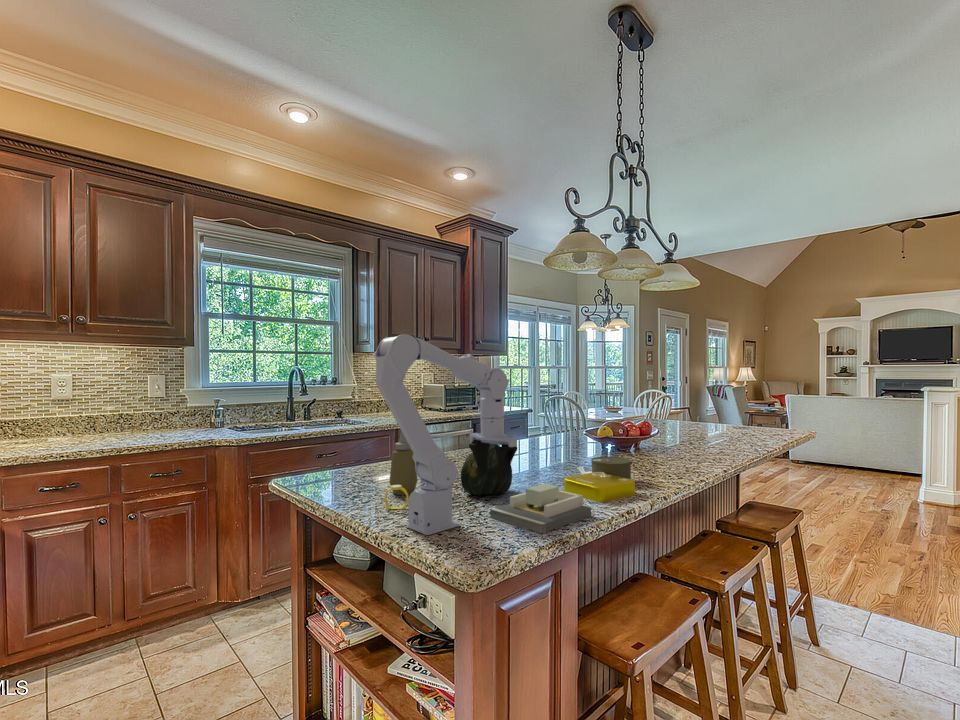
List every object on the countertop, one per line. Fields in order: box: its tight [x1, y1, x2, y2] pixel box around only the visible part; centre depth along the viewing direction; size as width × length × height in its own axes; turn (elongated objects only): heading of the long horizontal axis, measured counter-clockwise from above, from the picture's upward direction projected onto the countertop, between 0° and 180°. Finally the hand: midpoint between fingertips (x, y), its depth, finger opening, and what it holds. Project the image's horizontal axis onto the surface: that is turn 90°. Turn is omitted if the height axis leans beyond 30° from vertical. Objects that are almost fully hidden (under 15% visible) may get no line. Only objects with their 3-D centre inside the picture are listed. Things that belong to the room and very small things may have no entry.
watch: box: [384, 485, 409, 510], centre depth 120 cm, size 6×3×6 cm, turn 93°
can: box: [590, 456, 632, 479], centre depth 147 cm, size 12×12×7 cm
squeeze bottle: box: [389, 430, 418, 496], centre depth 136 cm, size 8×8×18 cm
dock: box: [489, 489, 592, 534], centre depth 113 cm, size 18×16×4 cm
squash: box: [460, 443, 513, 497], centre depth 135 cm, size 14×15×15 cm
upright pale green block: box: [525, 483, 560, 511], centre depth 113 cm, size 7×4×5 cm, turn 133°
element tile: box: [563, 472, 636, 503], centre depth 134 cm, size 15×15×5 cm
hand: (492, 473), depth 115 cm, fingers open, 7 cm apart
